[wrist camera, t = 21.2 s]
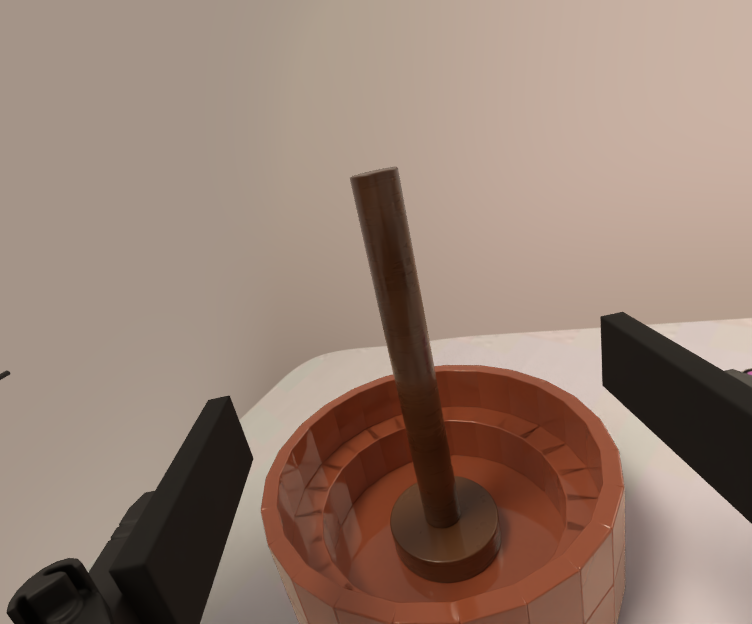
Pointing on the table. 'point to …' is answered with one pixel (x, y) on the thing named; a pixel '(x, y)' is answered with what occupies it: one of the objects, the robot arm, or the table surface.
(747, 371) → the smartphone
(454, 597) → the bowl
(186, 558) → the robot arm
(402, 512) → the paper towel holder
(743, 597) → the table surface
